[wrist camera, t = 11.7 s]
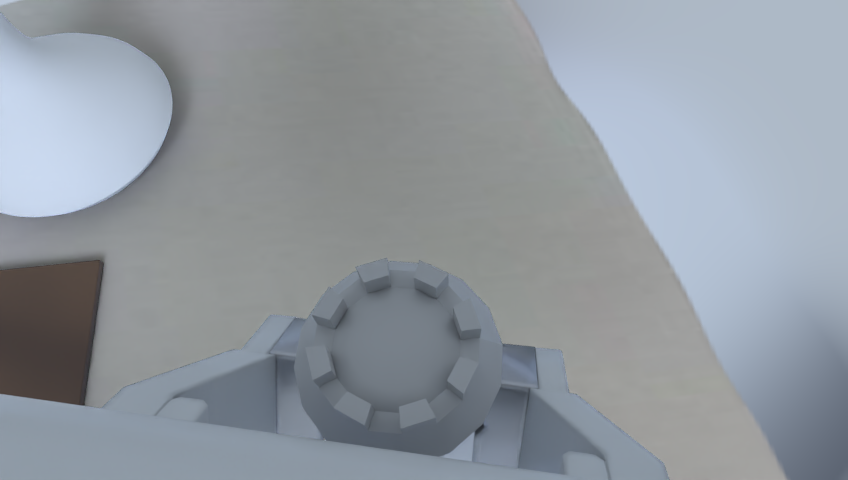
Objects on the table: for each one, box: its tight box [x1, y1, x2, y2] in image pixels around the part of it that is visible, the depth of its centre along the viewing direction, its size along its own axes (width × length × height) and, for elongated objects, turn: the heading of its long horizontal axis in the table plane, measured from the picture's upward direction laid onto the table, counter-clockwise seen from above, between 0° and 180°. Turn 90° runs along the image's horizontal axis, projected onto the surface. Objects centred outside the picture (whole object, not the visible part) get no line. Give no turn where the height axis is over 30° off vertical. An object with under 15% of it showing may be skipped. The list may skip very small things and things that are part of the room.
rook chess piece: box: [294, 258, 503, 462], centre depth 13 cm, size 4×4×8 cm
